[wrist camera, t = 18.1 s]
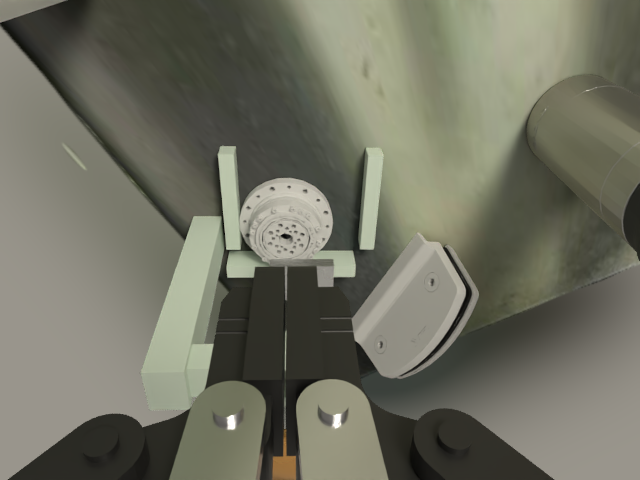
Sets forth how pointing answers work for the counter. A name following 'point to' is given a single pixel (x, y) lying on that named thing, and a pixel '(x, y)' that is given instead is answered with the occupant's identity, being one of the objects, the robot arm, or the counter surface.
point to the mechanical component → (286, 220)
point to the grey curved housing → (415, 309)
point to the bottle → (22, 7)
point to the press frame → (201, 279)
